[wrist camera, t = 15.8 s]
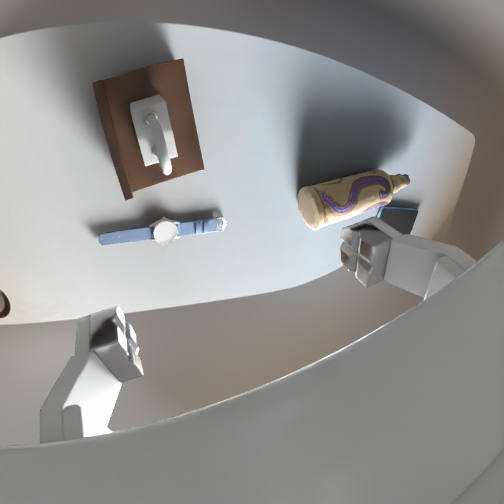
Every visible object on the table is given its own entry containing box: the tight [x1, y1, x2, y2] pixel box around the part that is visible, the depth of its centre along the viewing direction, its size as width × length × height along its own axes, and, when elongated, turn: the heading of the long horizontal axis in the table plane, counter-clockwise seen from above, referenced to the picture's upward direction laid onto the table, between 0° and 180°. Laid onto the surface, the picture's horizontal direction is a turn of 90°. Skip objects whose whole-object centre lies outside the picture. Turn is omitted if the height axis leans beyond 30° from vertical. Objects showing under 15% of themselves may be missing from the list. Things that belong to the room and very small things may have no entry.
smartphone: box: [377, 207, 418, 235], centre depth 62 cm, size 7×1×15 cm
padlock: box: [130, 95, 178, 175], centre depth 23 cm, size 7×4×15 cm, turn 8°
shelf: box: [93, 59, 204, 200], centre depth 31 cm, size 10×14×8 cm
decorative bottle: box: [297, 169, 410, 230], centre depth 50 cm, size 26×8×7 cm, turn 97°
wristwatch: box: [99, 217, 227, 245], centre depth 42 cm, size 4×20×1 cm, turn 85°
